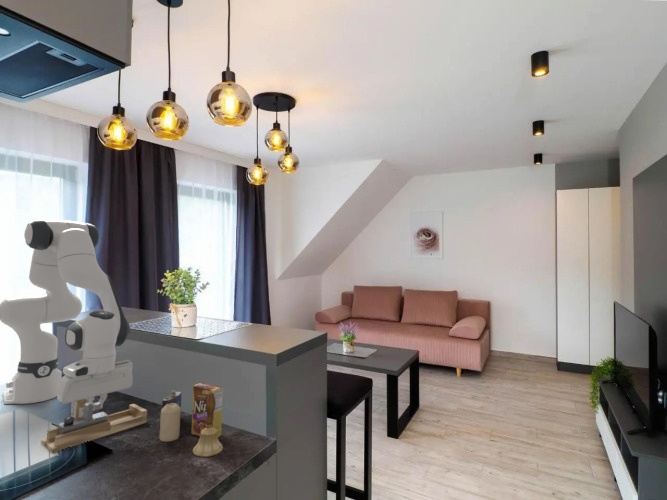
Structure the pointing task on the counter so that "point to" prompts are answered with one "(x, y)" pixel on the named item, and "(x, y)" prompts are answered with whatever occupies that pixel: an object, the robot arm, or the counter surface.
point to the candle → (170, 422)
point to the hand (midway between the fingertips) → (96, 409)
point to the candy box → (199, 407)
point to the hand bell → (208, 433)
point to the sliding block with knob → (82, 420)
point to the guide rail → (96, 429)
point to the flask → (173, 399)
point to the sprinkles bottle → (78, 408)
